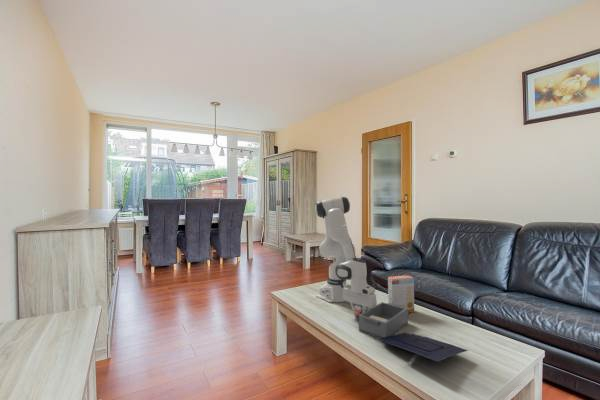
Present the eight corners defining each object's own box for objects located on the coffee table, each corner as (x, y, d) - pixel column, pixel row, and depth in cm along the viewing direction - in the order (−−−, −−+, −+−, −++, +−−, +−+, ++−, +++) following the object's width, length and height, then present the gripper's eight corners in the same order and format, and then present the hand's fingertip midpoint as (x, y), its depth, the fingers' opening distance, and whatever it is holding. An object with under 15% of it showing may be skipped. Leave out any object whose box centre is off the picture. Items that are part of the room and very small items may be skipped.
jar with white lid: (353, 319, 161) (352, 305, 161) (357, 316, 164) (357, 302, 164) (360, 321, 157) (360, 307, 157) (365, 318, 161) (365, 304, 161)
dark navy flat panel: (407, 337, 145) (407, 330, 145) (469, 357, 120) (468, 348, 121) (375, 345, 131) (375, 337, 132) (437, 369, 107) (437, 359, 107)
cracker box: (409, 308, 175) (408, 274, 175) (414, 312, 169) (414, 277, 169) (387, 310, 173) (387, 276, 173) (392, 314, 167) (392, 278, 167)
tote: (357, 331, 146) (357, 315, 146) (383, 315, 166) (382, 301, 166) (385, 341, 135) (384, 324, 135) (408, 322, 155) (408, 308, 155)
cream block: (365, 328, 146) (365, 319, 146) (372, 324, 151) (371, 315, 151) (383, 335, 139) (383, 324, 139) (389, 330, 145) (389, 320, 145)
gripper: (340, 284, 166) (340, 308, 166) (372, 292, 152) (372, 318, 152) (346, 282, 170) (346, 305, 170) (377, 289, 156) (378, 314, 156)
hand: (359, 311), depth 161 cm, fingers closed on jar with white lid, 5 cm apart
